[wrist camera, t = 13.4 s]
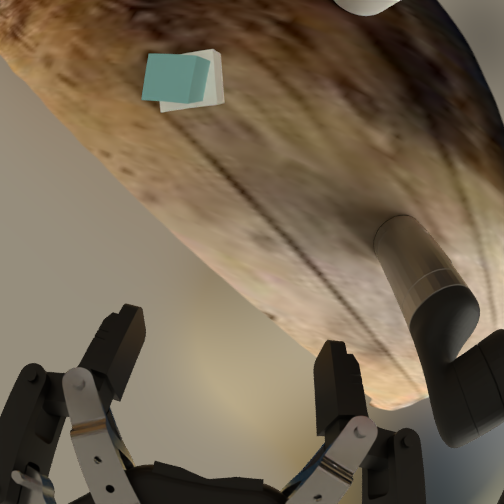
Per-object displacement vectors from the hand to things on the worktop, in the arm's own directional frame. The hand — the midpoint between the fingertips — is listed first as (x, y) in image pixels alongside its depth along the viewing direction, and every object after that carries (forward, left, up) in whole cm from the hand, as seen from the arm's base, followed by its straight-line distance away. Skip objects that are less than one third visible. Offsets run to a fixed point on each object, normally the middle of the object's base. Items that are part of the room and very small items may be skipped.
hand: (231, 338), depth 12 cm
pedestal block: (+10, -10, -30) cm, 33 cm away
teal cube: (+10, -10, -25) cm, 29 cm away
